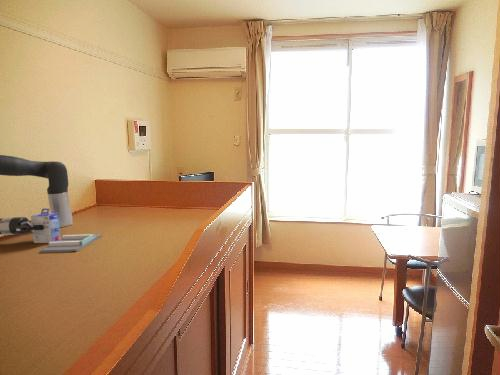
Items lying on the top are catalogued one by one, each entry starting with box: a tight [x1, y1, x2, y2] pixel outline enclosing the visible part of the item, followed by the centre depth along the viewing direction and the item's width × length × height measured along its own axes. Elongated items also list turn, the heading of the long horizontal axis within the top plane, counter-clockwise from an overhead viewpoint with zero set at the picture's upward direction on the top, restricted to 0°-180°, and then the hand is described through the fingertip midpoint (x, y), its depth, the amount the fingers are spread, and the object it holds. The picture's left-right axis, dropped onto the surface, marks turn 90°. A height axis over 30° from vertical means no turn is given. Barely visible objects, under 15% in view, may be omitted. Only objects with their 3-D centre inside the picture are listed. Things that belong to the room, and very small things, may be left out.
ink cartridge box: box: [30, 208, 62, 244], centre depth 152 cm, size 10×6×14 cm, turn 78°
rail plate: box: [39, 233, 103, 254], centre depth 147 cm, size 20×15×2 cm
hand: (49, 224), depth 152 cm, fingers open, 8 cm apart
